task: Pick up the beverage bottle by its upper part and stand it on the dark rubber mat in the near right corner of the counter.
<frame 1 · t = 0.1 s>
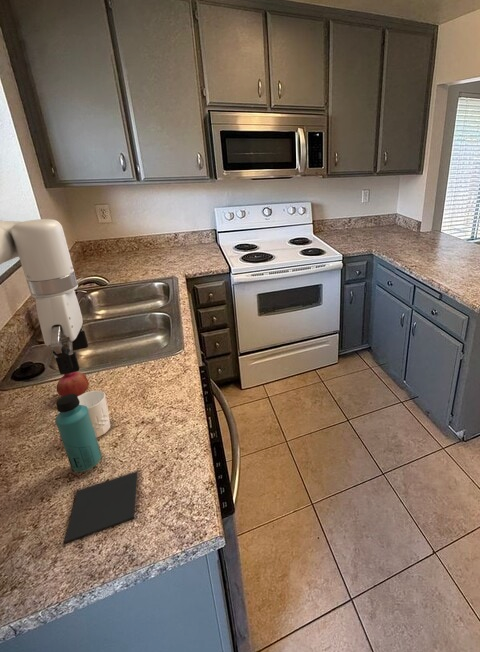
hand: (75, 359, 75), 30 cm above the counter, tool pointing down, fingers open, 9 cm apart
beverage bottle: (88, 467, 86), on the counter
fruit: (76, 397, 111), on the counter
white cup: (96, 430, 97), on the counter
corner mat: (104, 504, 76), on the counter
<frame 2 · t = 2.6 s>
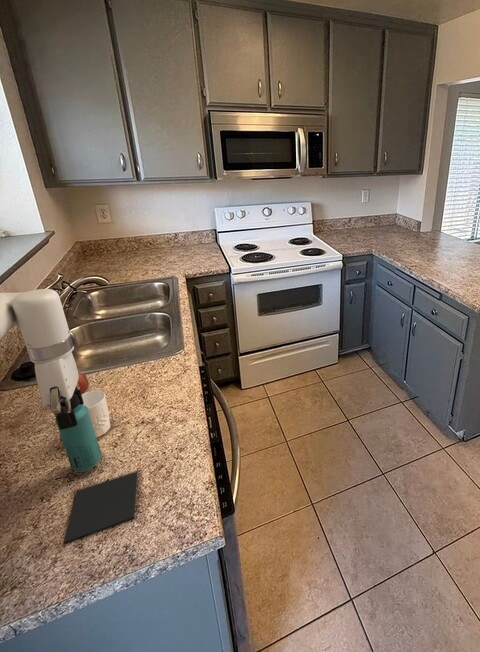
hand: (72, 415, 81), 15 cm above the counter, tool pointing down, fingers closed on beverage bottle, 6 cm apart
beverage bottle: (88, 467, 86), on the counter, touching gripper
everything else where it was.
when the fingers open (16 cm above the counter, at t = 9.6 s): beverage bottle stays where it is, resting on corner mat.
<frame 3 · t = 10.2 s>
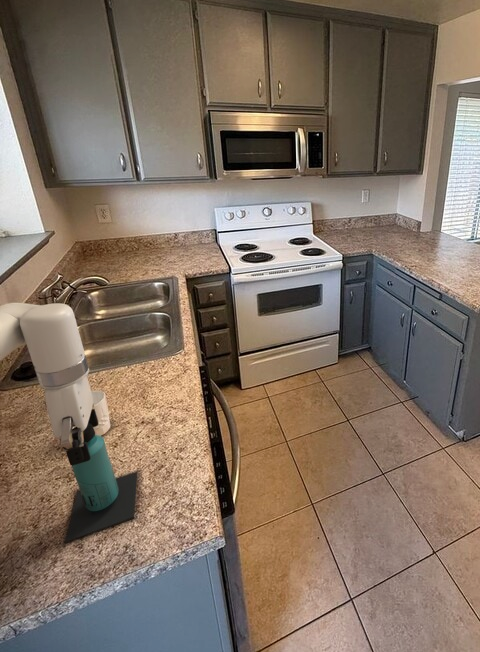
hand: (85, 443, 71), 17 cm above the counter, tool pointing down, fingers open, 9 cm apart
beverage bottle: (104, 504, 76), resting on corner mat
everything else where it was.
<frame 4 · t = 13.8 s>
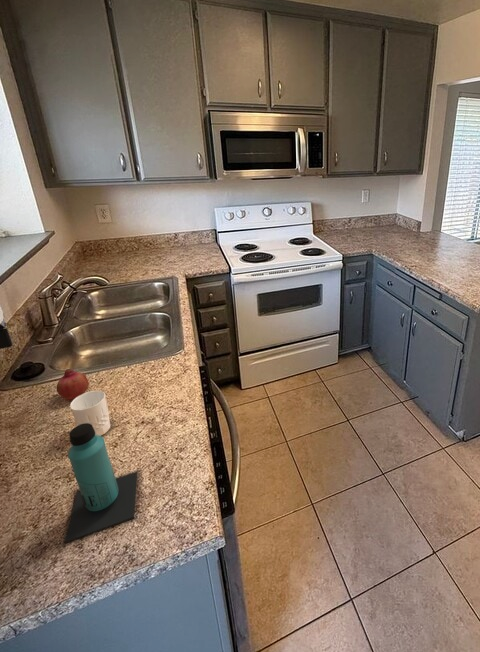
nothing on the counter moved.
at the end: beverage bottle inside the target area on the corner mat (0.1 cm from its centre), point 0.2 cm above the corner mat's base; beverage bottle tilted 0°; the gripper is holding nothing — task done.
